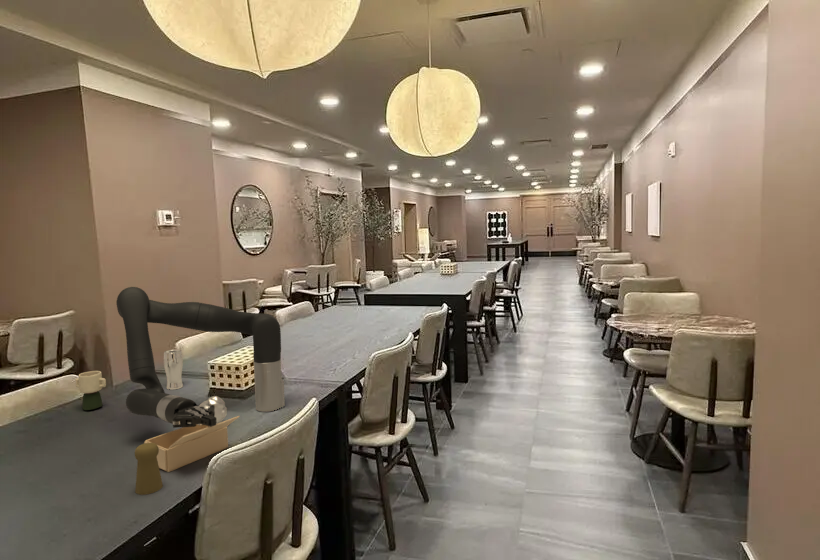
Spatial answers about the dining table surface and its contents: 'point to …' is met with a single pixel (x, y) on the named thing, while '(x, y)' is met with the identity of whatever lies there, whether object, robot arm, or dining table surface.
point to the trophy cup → (91, 389)
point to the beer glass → (173, 368)
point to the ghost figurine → (216, 407)
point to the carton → (187, 446)
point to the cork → (147, 469)
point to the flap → (203, 432)
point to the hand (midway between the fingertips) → (213, 422)
